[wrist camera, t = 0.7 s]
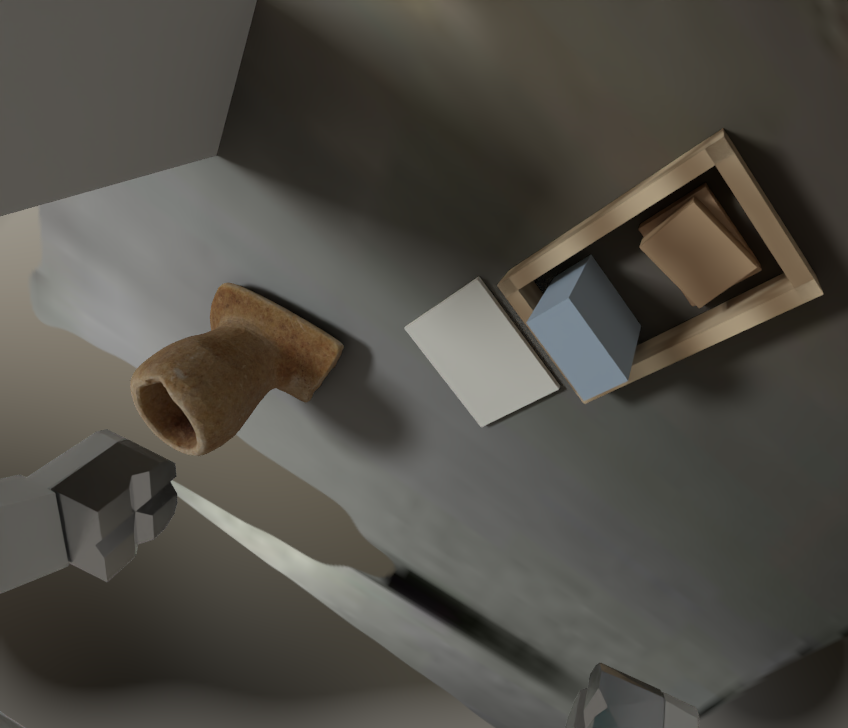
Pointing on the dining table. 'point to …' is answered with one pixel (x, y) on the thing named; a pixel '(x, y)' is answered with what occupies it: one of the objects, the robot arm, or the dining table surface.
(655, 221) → the offcut lower
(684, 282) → the offcut upper
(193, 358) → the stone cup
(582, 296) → the blue grey block
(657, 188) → the wooden tray
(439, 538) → the dining table surface
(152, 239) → the dining table surface
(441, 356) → the mat
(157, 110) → the grey box
